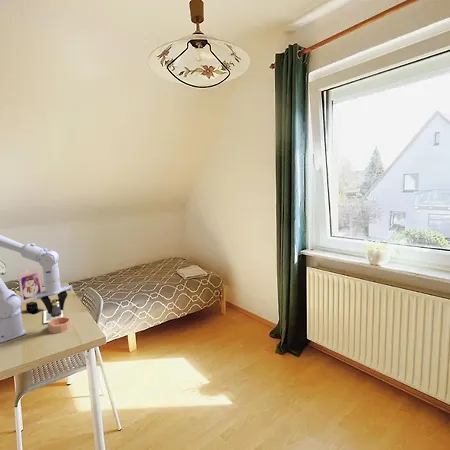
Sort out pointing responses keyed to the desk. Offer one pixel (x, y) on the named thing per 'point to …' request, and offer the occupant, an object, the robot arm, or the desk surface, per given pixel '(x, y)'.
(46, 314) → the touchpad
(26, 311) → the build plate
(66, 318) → the peach round shallow bowl
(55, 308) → the battery
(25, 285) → the greeting card
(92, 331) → the desk surface
